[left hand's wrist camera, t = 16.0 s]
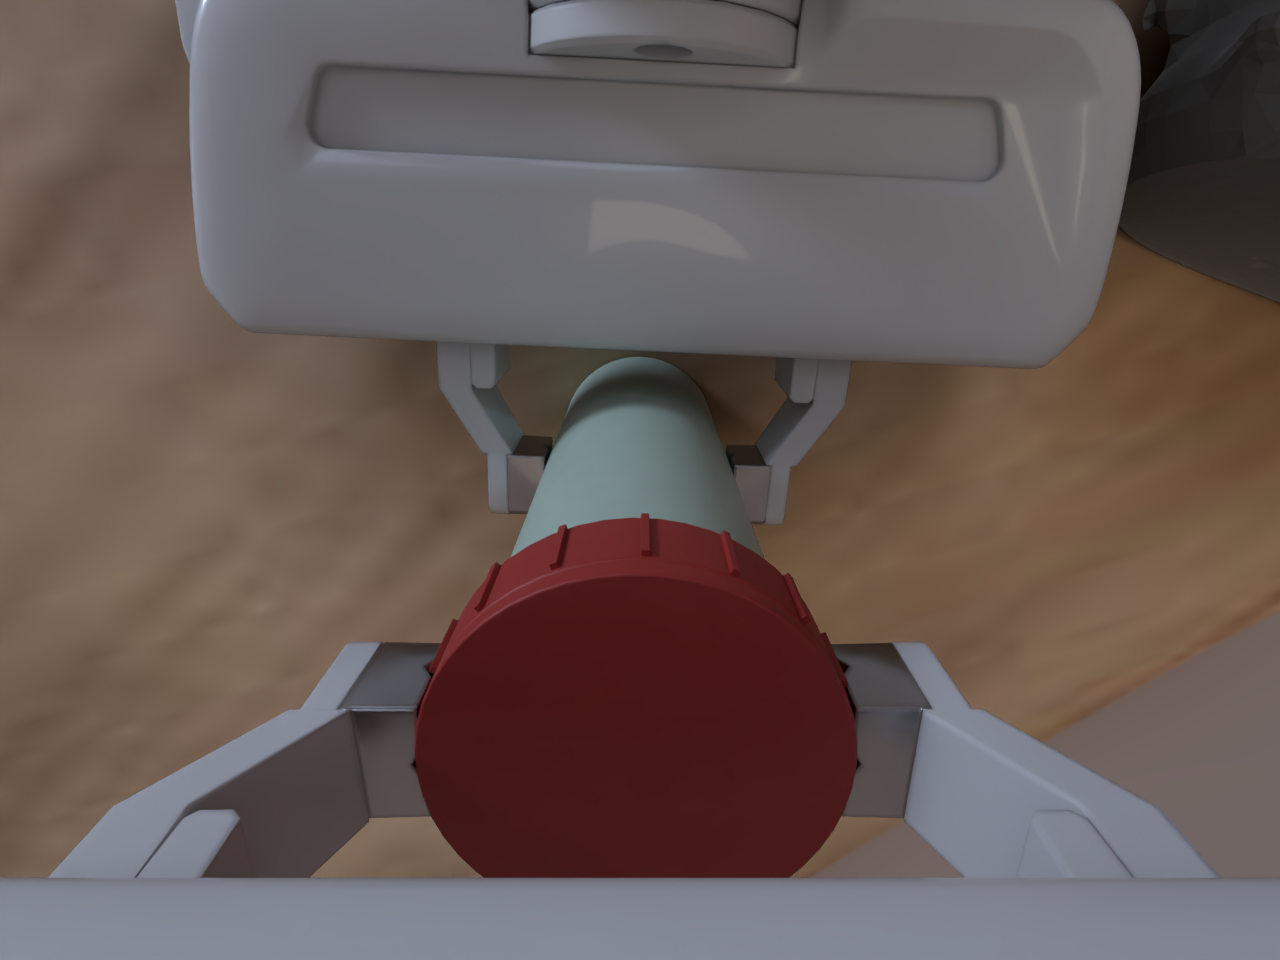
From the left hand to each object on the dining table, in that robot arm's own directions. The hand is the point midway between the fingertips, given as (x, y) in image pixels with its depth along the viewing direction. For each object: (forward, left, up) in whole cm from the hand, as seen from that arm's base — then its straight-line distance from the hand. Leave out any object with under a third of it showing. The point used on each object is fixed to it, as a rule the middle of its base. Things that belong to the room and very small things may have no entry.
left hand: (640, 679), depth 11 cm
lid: (0, 0, +2) cm, 2 cm away
